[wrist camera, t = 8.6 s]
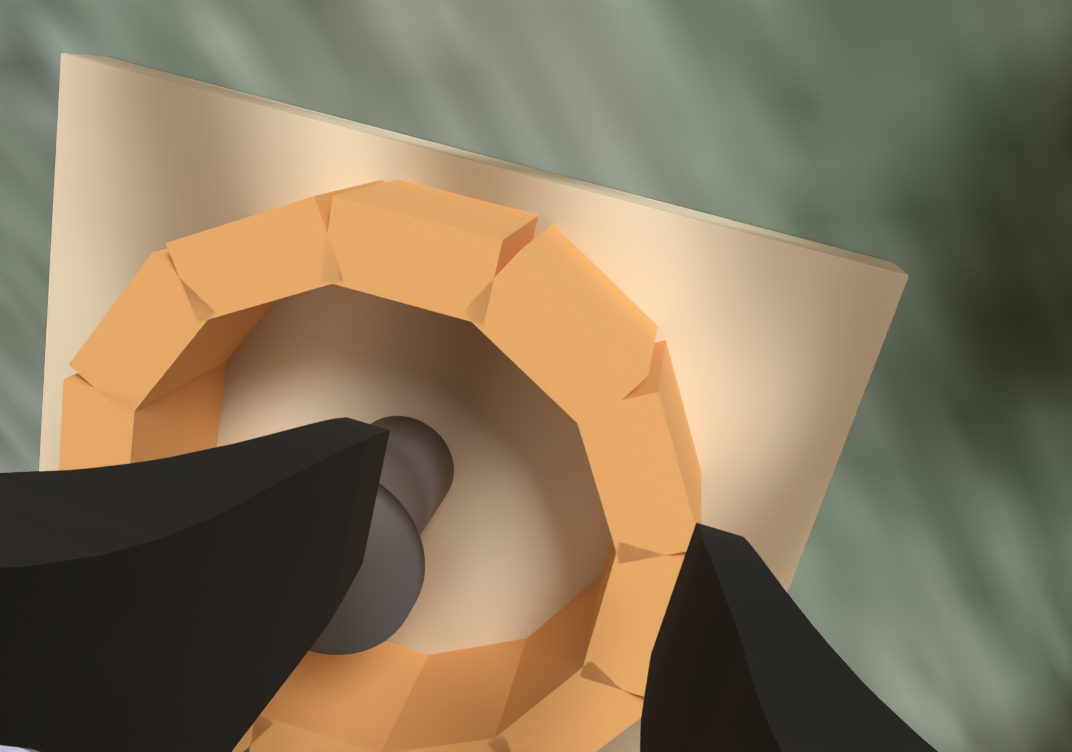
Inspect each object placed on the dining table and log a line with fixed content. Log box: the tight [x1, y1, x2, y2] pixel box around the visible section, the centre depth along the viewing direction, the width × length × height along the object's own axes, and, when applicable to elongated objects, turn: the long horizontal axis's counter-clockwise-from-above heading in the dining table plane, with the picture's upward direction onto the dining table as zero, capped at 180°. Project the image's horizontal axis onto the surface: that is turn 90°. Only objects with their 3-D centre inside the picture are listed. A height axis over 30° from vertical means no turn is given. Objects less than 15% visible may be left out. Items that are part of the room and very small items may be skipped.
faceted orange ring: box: [59, 179, 702, 752], centre depth 18 cm, size 12×12×4 cm
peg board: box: [39, 53, 909, 752], centre depth 19 cm, size 18×14×6 cm
